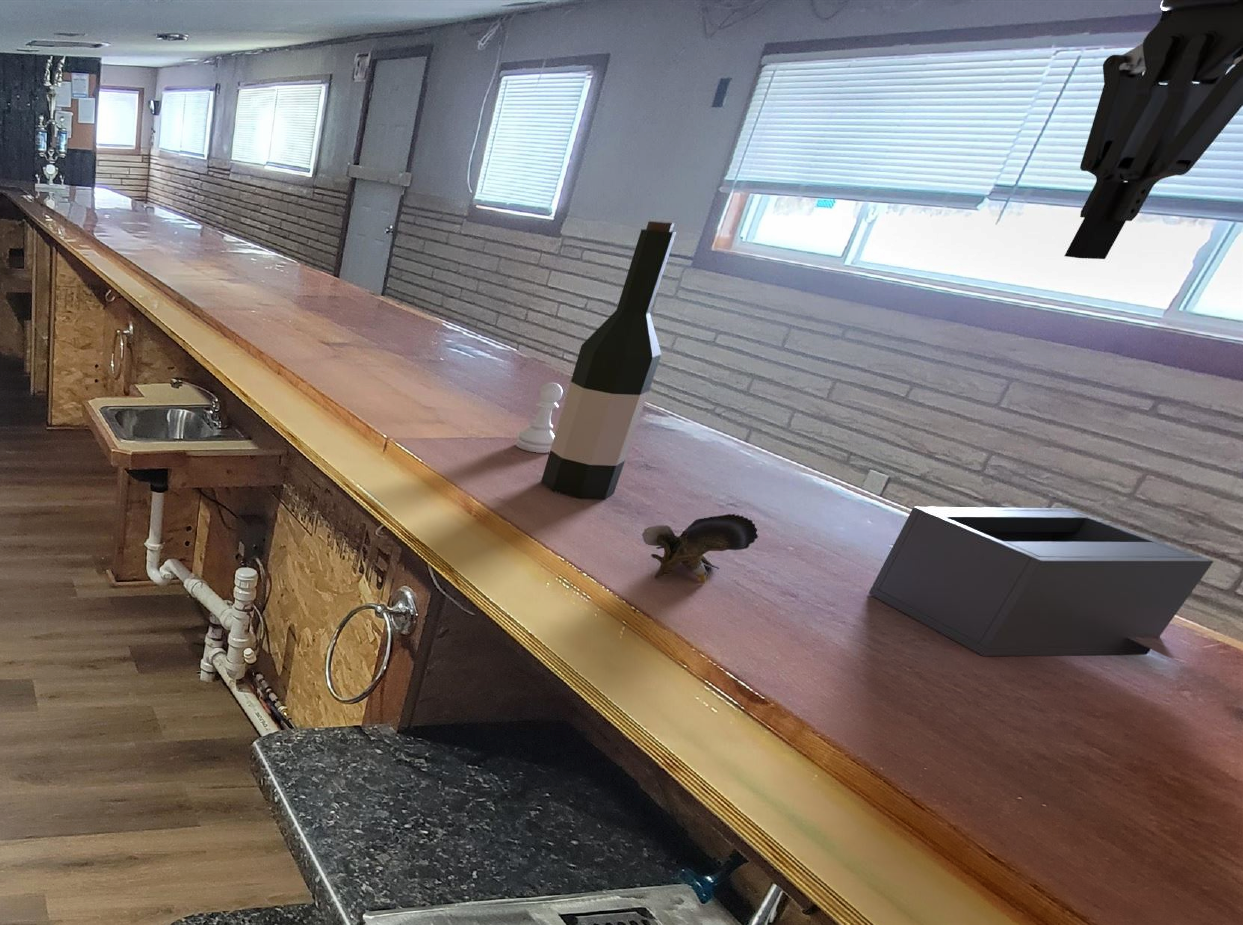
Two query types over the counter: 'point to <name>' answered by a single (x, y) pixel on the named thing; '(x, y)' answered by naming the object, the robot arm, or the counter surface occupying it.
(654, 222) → the wine bottle
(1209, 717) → the counter surface
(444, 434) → the counter surface
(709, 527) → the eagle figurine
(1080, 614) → the grey cardboard box
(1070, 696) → the counter surface
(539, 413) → the chess pawn
